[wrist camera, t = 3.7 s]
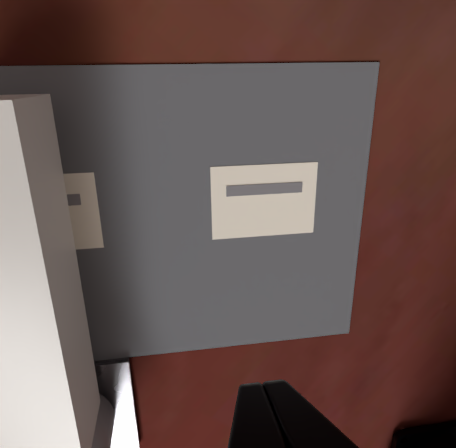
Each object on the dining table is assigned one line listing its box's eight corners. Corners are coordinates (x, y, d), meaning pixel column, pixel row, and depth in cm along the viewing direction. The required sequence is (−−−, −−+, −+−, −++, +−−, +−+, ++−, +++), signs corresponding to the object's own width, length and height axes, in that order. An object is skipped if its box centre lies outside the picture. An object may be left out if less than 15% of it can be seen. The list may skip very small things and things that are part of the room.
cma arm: (66, 93, 15) (31, 99, 11) (118, 441, 21) (108, 526, 17) (-47, 95, 15) (-129, 102, 10) (41, 452, 21) (11, 542, 17)
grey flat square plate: (129, 357, 20) (128, 362, 20) (139, 442, 23) (139, 448, 22) (5, 370, 20) (2, 376, 19) (28, 458, 22) (26, 465, 21)
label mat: (377, 61, 17) (380, 62, 17) (347, 330, 22) (349, 333, 22) (-132, 67, 15) (-137, 67, 14) (-37, 372, 19) (-39, 376, 19)
